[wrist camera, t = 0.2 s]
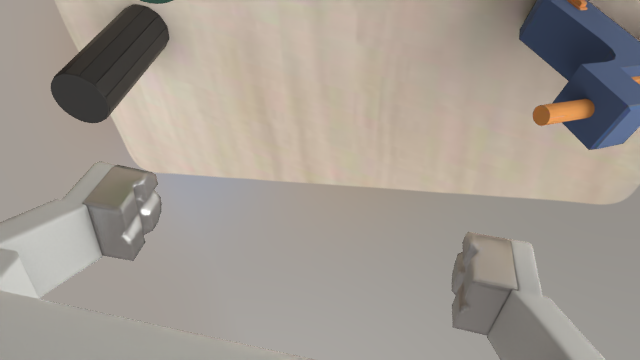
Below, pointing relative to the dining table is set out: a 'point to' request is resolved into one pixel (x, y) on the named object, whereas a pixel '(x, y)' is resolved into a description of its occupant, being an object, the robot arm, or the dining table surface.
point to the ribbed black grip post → (110, 64)
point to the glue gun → (587, 70)
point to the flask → (157, 1)
